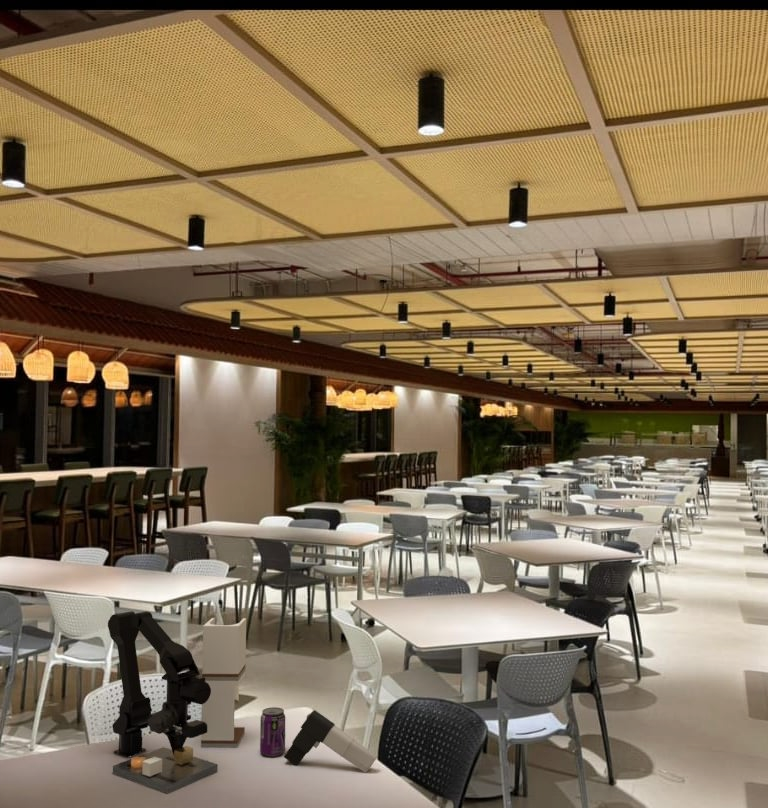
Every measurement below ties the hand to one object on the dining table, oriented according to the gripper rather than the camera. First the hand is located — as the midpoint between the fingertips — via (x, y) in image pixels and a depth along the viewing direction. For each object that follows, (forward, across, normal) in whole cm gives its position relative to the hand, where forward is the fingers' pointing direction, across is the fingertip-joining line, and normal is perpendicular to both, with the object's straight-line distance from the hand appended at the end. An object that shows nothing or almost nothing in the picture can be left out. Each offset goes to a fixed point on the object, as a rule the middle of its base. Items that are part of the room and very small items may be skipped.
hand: (176, 755), depth 216 cm
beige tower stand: (+3, -5, +22) cm, 23 cm away
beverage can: (+3, +14, +23) cm, 27 cm away
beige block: (+1, +2, -10) cm, 10 cm away
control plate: (+3, 0, -4) cm, 5 cm away
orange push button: (+3, -6, -8) cm, 10 cm away
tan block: (+1, +3, 0) cm, 3 cm away
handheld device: (+4, +34, +25) cm, 42 cm away
